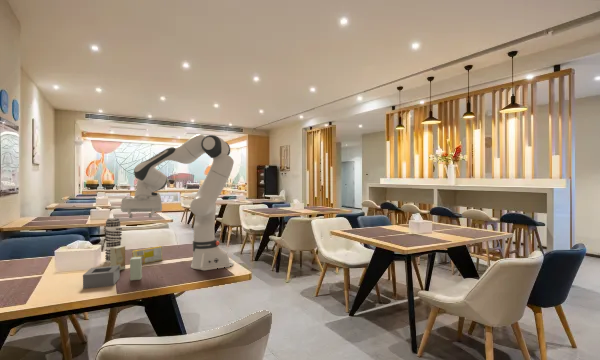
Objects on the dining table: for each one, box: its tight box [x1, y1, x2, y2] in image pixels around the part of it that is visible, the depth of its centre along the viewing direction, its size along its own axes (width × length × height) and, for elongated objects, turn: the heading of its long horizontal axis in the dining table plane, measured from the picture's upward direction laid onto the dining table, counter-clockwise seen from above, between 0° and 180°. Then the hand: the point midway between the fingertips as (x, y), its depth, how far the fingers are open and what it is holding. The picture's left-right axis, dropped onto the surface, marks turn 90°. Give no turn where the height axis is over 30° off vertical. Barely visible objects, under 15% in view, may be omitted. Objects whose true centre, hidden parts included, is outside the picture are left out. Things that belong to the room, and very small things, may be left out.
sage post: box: [129, 256, 143, 281], centre depth 157 cm, size 4×4×10 cm
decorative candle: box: [103, 217, 123, 263], centre depth 192 cm, size 9×9×25 cm
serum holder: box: [82, 265, 121, 289], centre depth 151 cm, size 12×12×6 cm
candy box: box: [131, 245, 163, 265], centre depth 187 cm, size 16×2×8 cm, turn 136°
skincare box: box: [109, 245, 126, 271], centre depth 172 cm, size 6×4×12 cm
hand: (140, 217), depth 171 cm, fingers open, 8 cm apart
